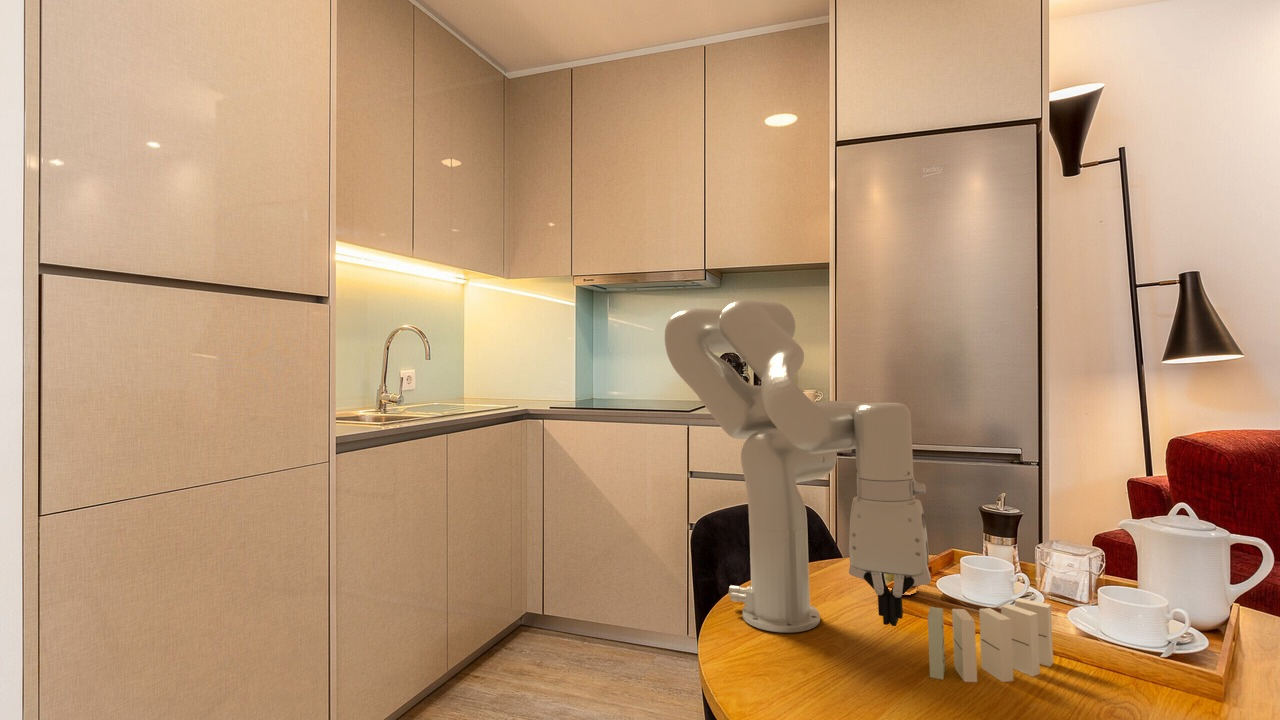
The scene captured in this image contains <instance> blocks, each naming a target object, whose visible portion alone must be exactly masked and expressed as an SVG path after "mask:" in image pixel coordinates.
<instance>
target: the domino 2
mask: <svg viewBox="0 0 1280 720" xmlns="http://www.w3.org/2000/svg"><path fill="white" fill-rule="evenodd" d="M978 611H979V612H978V613H979V633H980V634H979V637H980V639H979V640H980V659H981V661H980V662H981V667H980V668H981V669H982V670H984V671H985V672H987V673H988V674H990V675H991V676H992V677H994V678H995V679H998V680H999V681H1000V682H1002V683H1006V682H1013V681H1014V669H1013V657H1012V633H1011V619H1010V618H1008V617H1006V616H1004V615H1002V614H1001V612H998V611H997V610H994V609H992V608H990V607H987V608H986V607H985V608H979V609H978Z"/></svg>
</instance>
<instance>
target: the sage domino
mask: <svg viewBox="0 0 1280 720" xmlns="http://www.w3.org/2000/svg"><path fill="white" fill-rule="evenodd" d="M928 609H929V610H928V614H927V631H928V632H927V633H928V634H927V635H928V636H927V637H928V639H927V640H928V658H929V659H928V660H929V661H928V662H929V678H932V679H937V680H944V679H945V678H944V677H945V672H946V671H945V670H946V655H945V633H944V632H945V630H944V627H945V626H944V608H943V607H936V606H935V607H934V606H929V608H928Z"/></svg>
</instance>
